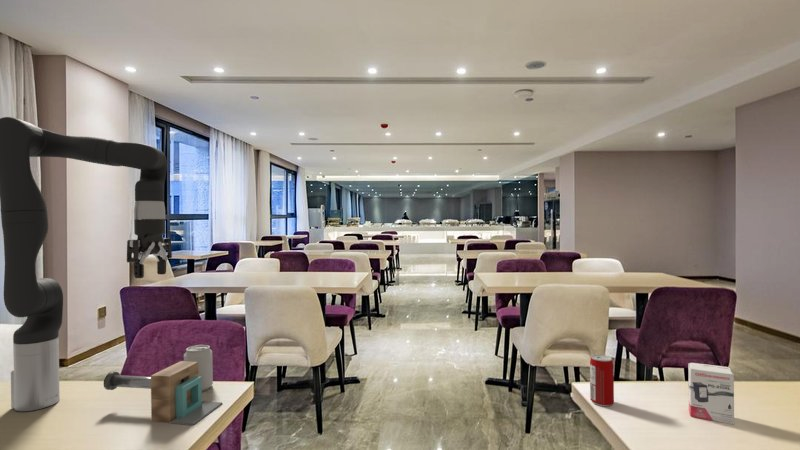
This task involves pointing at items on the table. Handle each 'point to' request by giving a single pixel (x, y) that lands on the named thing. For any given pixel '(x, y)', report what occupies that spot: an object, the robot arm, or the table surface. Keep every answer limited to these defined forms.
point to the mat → (197, 413)
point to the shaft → (127, 381)
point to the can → (201, 363)
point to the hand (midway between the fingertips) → (150, 276)
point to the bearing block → (169, 389)
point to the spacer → (181, 396)
